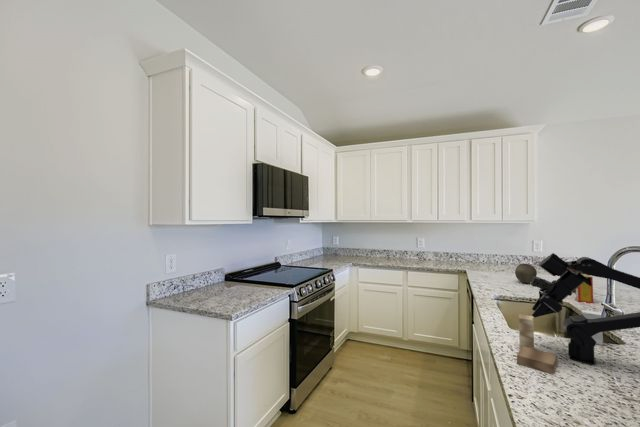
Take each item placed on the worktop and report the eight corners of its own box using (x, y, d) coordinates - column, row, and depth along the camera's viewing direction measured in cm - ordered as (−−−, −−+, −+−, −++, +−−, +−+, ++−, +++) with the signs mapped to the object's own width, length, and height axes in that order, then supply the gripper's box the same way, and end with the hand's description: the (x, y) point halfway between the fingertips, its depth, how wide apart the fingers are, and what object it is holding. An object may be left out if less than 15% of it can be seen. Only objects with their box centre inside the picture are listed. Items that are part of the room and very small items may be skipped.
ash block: (533, 347, 115) (532, 316, 115) (534, 352, 110) (533, 320, 110) (519, 344, 117) (519, 314, 118) (519, 349, 113) (519, 318, 113)
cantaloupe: (511, 281, 234) (511, 262, 234) (530, 281, 232) (530, 262, 232) (521, 285, 220) (520, 265, 220) (541, 285, 218) (541, 265, 218)
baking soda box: (593, 303, 171) (592, 276, 172) (578, 302, 175) (577, 275, 175) (589, 300, 179) (589, 273, 179) (575, 298, 183) (575, 272, 183)
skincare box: (603, 342, 118) (602, 312, 119) (603, 346, 115) (602, 315, 115) (582, 338, 123) (581, 309, 123) (582, 341, 119) (581, 311, 120)
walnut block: (557, 364, 102) (557, 354, 102) (553, 375, 95) (553, 364, 95) (523, 355, 109) (522, 346, 109) (517, 365, 102) (516, 355, 102)
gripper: (543, 265, 119) (514, 292, 124) (545, 273, 104) (512, 303, 109) (571, 286, 114) (540, 312, 119) (577, 297, 98) (541, 326, 104)
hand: (533, 313), depth 113 cm, fingers open, 9 cm apart
